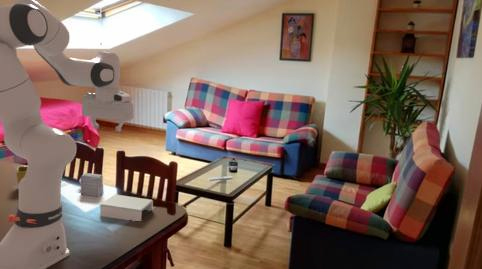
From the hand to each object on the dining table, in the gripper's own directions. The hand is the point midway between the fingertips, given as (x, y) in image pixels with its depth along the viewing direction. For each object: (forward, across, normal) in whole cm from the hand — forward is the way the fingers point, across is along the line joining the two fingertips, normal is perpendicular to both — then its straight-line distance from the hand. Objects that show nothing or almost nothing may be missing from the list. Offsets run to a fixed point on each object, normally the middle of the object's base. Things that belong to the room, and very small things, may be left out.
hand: (107, 129), depth 153 cm
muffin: (+31, -18, +15) cm, 39 cm away
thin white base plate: (+31, +12, -5) cm, 34 cm away
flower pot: (+31, -38, +4) cm, 50 cm away
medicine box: (+31, -12, +9) cm, 35 cm away
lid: (+27, +12, -5) cm, 30 cm away
